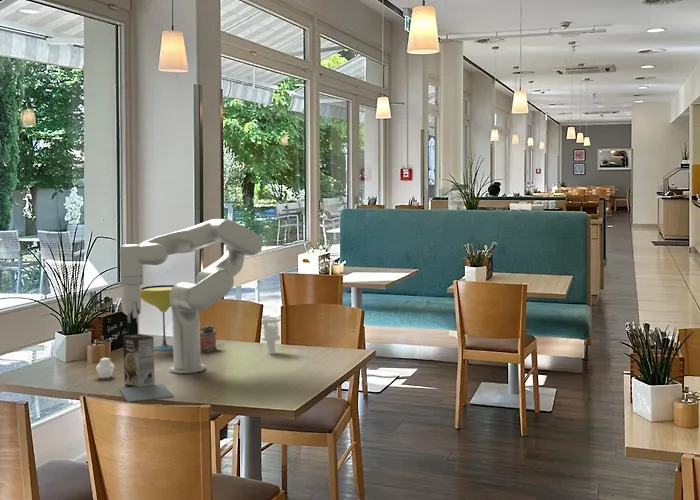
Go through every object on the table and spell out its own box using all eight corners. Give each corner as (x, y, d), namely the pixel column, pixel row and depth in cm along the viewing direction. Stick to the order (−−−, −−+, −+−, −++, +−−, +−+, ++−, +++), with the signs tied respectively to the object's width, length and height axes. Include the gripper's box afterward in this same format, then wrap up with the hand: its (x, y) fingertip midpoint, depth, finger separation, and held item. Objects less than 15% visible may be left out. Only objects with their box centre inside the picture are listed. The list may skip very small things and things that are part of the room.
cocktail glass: (152, 343, 323) (150, 284, 321) (193, 344, 321) (191, 285, 319) (134, 352, 305) (132, 290, 303) (177, 353, 303) (176, 290, 301)
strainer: (268, 350, 306) (267, 313, 305) (283, 352, 303) (282, 314, 302) (258, 354, 300) (258, 316, 299) (274, 355, 297) (273, 317, 296)
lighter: (212, 348, 313) (211, 324, 312) (218, 349, 311) (217, 324, 310) (197, 351, 306) (197, 327, 305) (203, 352, 304) (203, 327, 303)
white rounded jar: (95, 376, 267) (94, 356, 266) (113, 374, 269) (113, 354, 269) (97, 380, 261) (96, 359, 261) (115, 378, 264) (115, 358, 263)
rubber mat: (119, 389, 248) (119, 388, 248) (163, 384, 254) (163, 383, 254) (127, 402, 233) (127, 401, 233) (173, 396, 239) (173, 395, 239)
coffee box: (123, 383, 255) (121, 335, 255) (140, 380, 260) (138, 333, 259) (138, 387, 249) (136, 338, 248) (155, 384, 254) (153, 335, 253)
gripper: (117, 279, 265) (118, 331, 266) (123, 283, 252) (124, 338, 253) (139, 278, 268) (140, 330, 269) (147, 282, 255) (147, 337, 256)
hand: (132, 334), depth 261 cm, fingers closed
